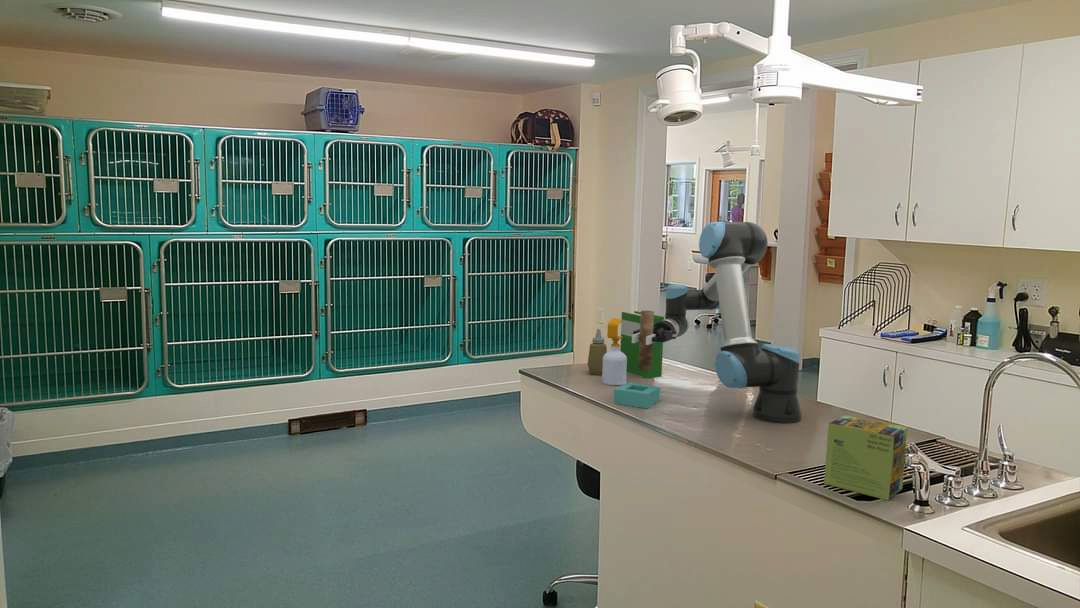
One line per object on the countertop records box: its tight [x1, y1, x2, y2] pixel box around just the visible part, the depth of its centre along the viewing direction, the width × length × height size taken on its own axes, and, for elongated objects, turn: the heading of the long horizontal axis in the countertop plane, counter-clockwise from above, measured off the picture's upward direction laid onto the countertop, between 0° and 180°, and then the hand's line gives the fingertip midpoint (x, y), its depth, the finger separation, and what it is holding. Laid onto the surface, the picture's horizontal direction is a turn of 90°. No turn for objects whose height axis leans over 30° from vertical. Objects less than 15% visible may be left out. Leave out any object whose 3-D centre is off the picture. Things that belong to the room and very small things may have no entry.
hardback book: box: [620, 310, 665, 379], centre depth 300 cm, size 18×7×24 cm, turn 31°
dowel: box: [638, 310, 655, 371], centre depth 253 cm, size 4×4×20 cm
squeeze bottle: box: [587, 328, 608, 376], centre depth 297 cm, size 8×8×18 cm
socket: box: [613, 382, 661, 409], centre depth 255 cm, size 12×12×5 cm
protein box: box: [823, 415, 908, 501], centre depth 180 cm, size 10×15×16 cm
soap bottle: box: [601, 317, 628, 386], centre depth 281 cm, size 9×9×25 cm
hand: (639, 339), depth 249 cm, fingers closed on dowel, 4 cm apart
